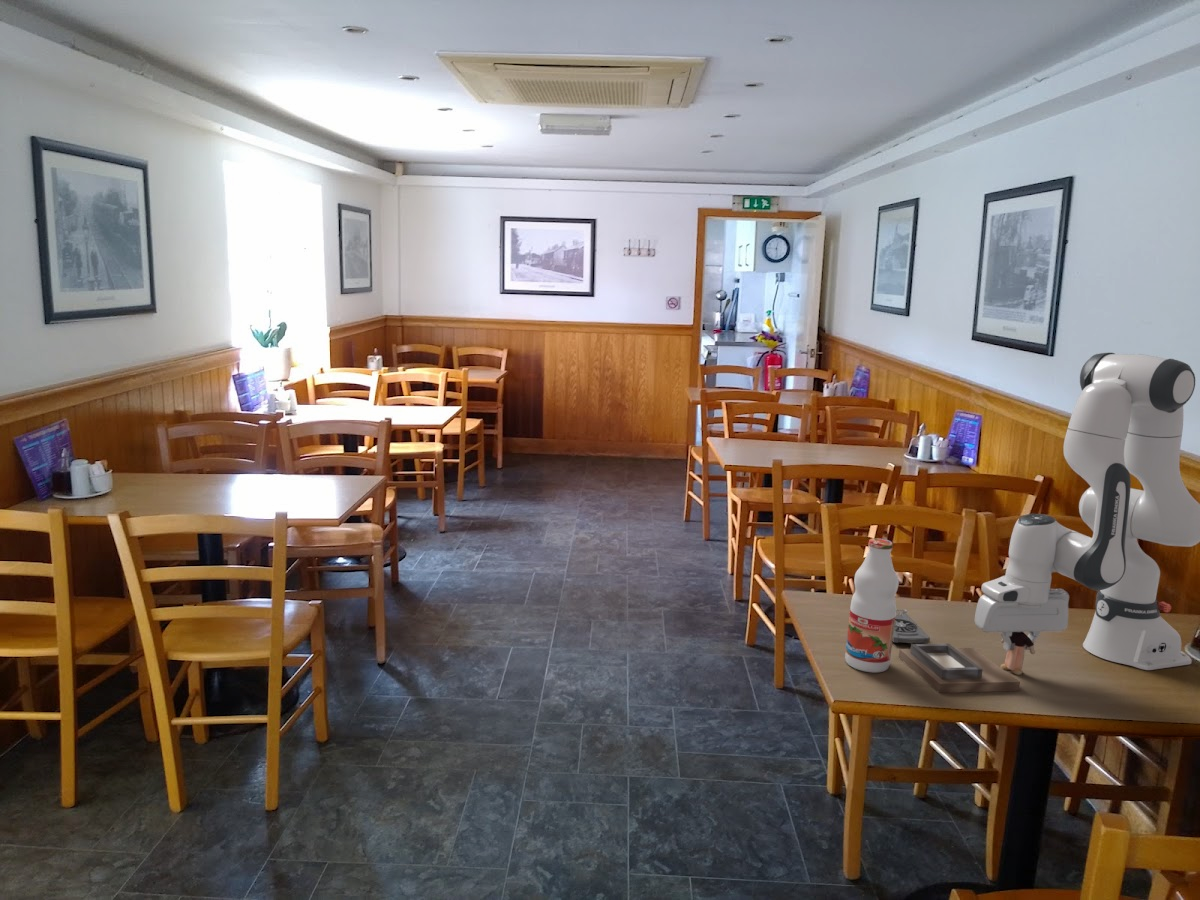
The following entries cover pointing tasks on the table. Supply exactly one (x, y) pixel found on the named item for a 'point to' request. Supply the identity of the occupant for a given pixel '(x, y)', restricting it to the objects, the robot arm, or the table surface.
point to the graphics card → (908, 630)
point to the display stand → (957, 669)
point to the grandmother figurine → (1017, 652)
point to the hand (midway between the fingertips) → (1017, 649)
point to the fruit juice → (873, 610)
